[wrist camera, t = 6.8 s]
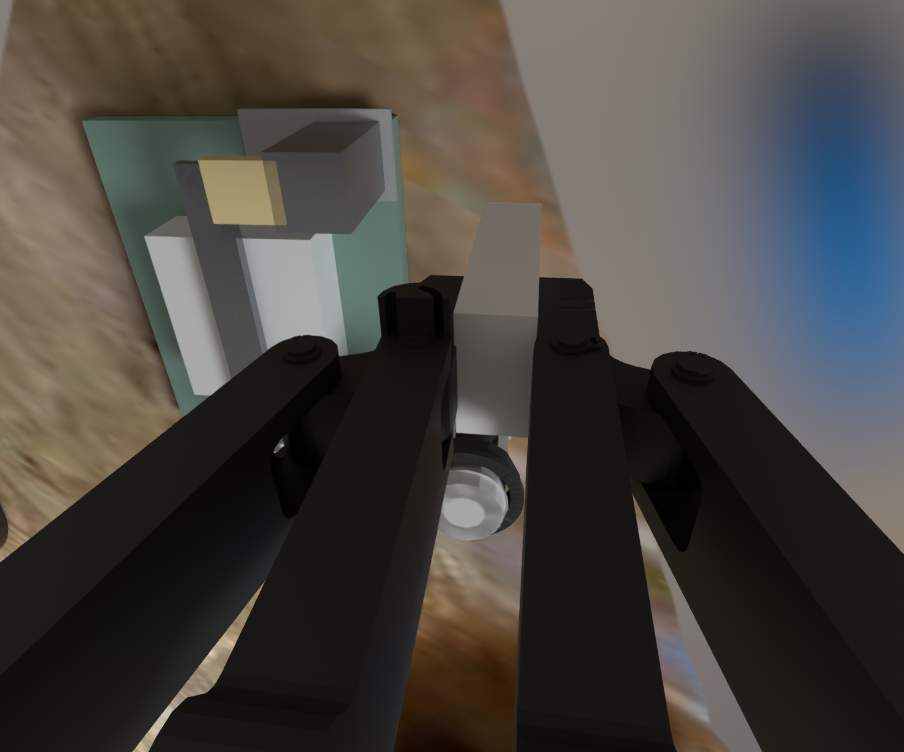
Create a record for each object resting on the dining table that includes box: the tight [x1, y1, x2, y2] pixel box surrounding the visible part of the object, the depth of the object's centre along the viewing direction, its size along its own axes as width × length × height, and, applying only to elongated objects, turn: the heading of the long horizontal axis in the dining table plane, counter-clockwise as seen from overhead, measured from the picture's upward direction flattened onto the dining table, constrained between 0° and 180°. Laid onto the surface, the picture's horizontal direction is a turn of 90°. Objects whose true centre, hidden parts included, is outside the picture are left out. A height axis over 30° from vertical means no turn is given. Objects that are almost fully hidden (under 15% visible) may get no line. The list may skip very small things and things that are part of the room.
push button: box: [438, 418, 524, 540], centre depth 31 cm, size 7×5×10 cm
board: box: [82, 108, 409, 417], centre depth 31 cm, size 15×18×4 cm
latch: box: [198, 122, 385, 234], centre depth 25 cm, size 6×3×6 cm, turn 91°
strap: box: [173, 160, 284, 451], centre depth 29 cm, size 3×16×1 cm, turn 1°
